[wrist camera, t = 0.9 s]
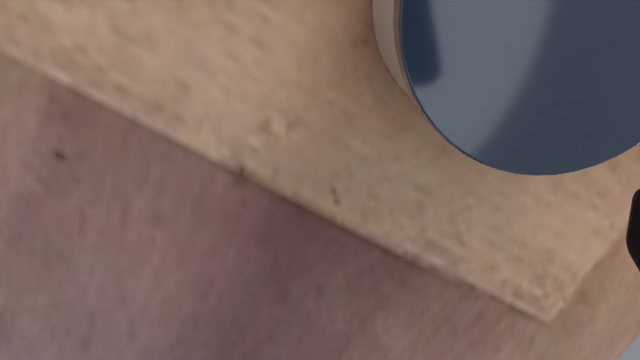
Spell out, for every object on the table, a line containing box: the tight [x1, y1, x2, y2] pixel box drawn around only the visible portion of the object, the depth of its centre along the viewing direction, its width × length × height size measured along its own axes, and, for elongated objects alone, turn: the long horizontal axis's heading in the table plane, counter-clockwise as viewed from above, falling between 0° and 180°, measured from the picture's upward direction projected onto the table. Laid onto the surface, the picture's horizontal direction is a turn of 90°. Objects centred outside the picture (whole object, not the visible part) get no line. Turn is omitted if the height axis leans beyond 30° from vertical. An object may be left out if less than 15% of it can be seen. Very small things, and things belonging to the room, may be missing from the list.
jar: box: [372, 0, 640, 175], centre depth 18 cm, size 10×10×5 cm
